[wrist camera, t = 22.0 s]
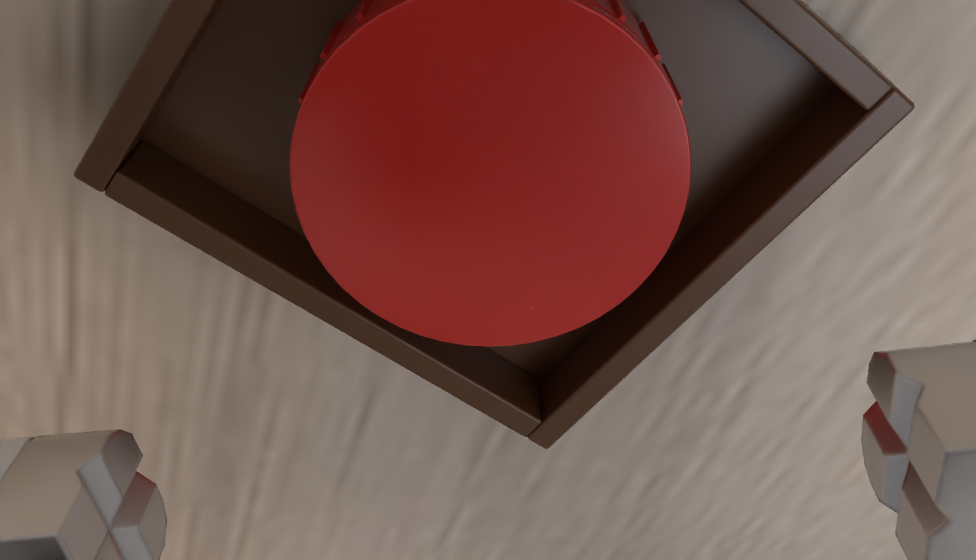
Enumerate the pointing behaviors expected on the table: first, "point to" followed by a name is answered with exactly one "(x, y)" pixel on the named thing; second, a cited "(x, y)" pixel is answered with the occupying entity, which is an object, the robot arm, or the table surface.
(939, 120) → the table surface
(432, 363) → the tray
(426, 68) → the jar lid
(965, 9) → the table surface
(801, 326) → the table surface
